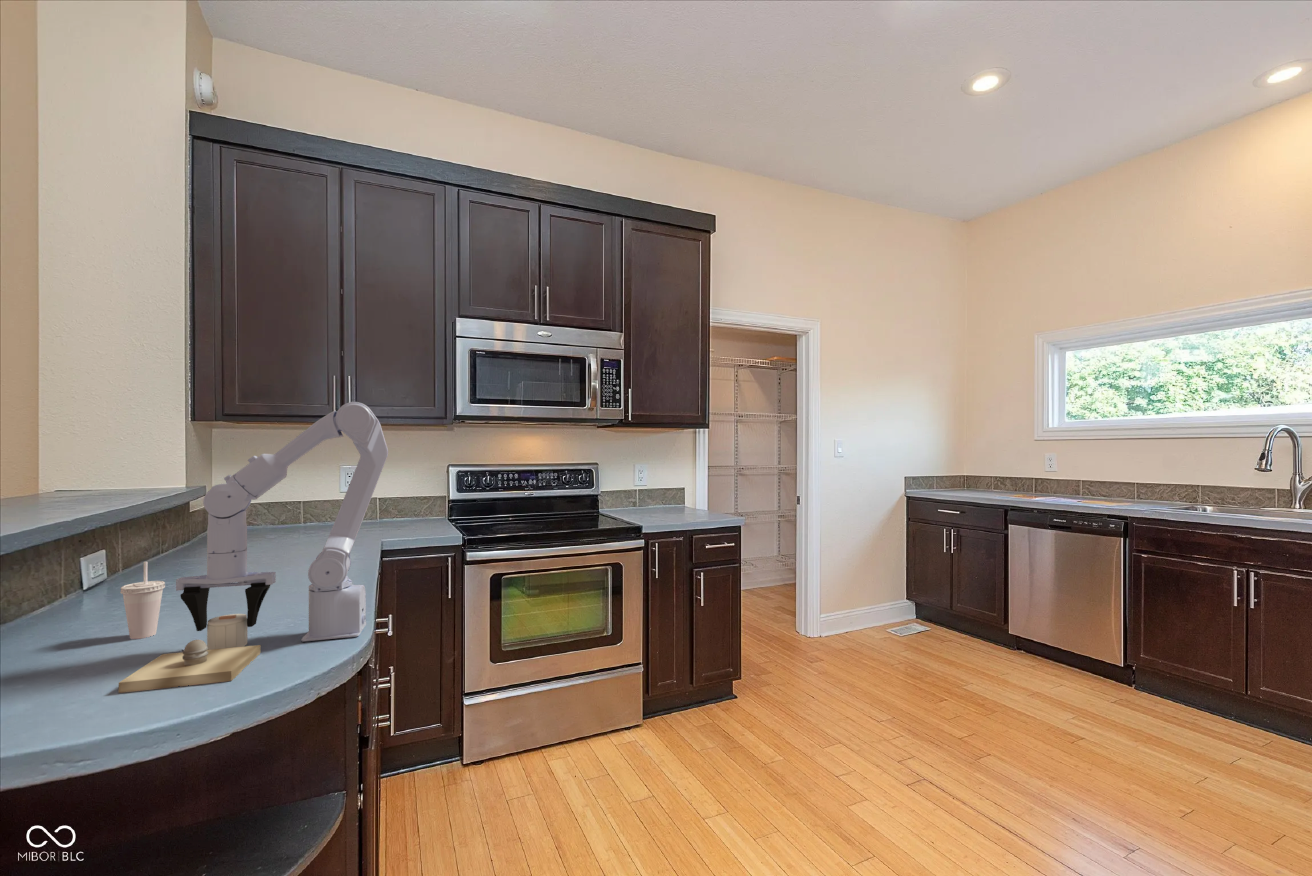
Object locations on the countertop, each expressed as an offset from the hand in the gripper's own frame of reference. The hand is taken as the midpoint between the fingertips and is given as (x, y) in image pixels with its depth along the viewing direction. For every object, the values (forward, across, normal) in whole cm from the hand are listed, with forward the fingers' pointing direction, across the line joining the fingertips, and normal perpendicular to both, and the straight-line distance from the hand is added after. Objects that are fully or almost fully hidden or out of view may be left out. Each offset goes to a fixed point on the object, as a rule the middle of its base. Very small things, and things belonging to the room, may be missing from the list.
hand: (226, 627), depth 103 cm
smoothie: (+4, +18, -12) cm, 22 cm away
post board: (+3, 0, +12) cm, 12 cm away
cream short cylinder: (+3, 0, 0) cm, 3 cm away
